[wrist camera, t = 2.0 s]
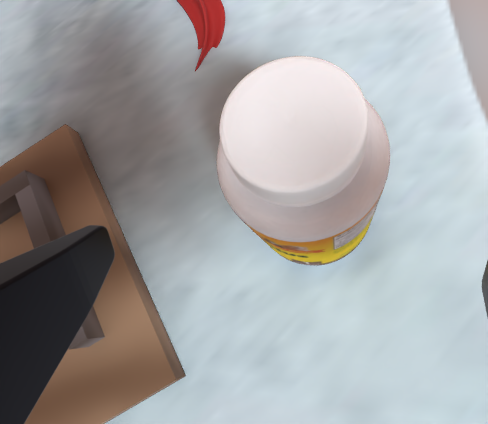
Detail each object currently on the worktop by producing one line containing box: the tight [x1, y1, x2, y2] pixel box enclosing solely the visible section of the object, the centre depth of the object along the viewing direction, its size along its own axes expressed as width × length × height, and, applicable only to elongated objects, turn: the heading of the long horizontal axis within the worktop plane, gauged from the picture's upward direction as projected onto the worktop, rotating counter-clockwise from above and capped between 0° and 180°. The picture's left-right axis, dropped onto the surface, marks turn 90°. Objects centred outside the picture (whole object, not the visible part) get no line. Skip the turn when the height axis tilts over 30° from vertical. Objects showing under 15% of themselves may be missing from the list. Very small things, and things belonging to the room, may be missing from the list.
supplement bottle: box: [217, 56, 390, 265], centre depth 15 cm, size 6×6×10 cm
